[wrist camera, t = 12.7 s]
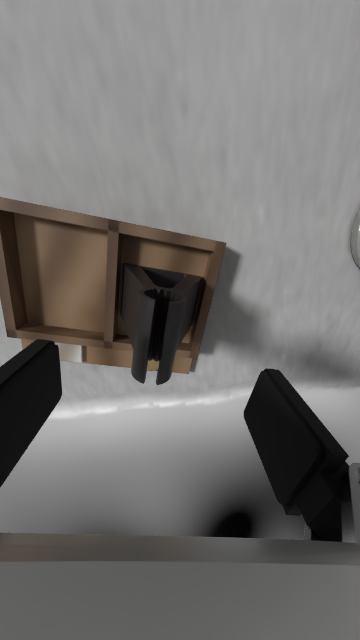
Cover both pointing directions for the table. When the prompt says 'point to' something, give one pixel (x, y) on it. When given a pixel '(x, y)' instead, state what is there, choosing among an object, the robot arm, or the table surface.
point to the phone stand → (157, 315)
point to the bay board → (91, 280)
